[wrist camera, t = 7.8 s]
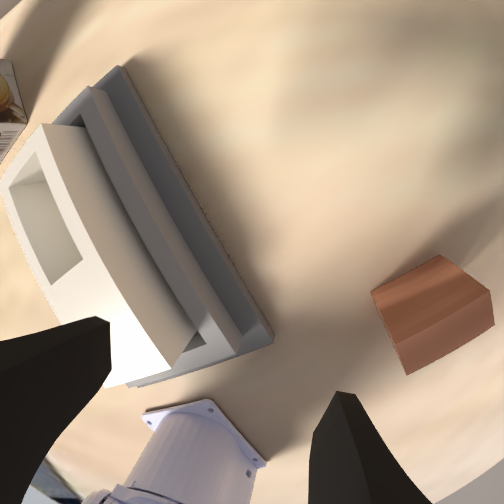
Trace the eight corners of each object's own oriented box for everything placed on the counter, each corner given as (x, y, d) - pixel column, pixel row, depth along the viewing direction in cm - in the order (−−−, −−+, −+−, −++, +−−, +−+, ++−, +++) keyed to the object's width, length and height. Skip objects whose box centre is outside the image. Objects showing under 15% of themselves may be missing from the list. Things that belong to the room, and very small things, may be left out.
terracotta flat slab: (448, 281, 16) (494, 325, 10) (380, 317, 17) (406, 375, 12) (439, 254, 16) (489, 290, 10) (370, 291, 17) (395, 344, 11)
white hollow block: (96, 128, 16) (41, 123, 11) (202, 322, 18) (171, 368, 13) (49, 177, 18) (-3, 184, 13) (141, 347, 20) (105, 388, 15)
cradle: (274, 334, 19) (269, 361, 16) (143, 380, 22) (126, 403, 19) (125, 68, 16) (99, 56, 13) (26, 170, 19) (0, 173, 16)
